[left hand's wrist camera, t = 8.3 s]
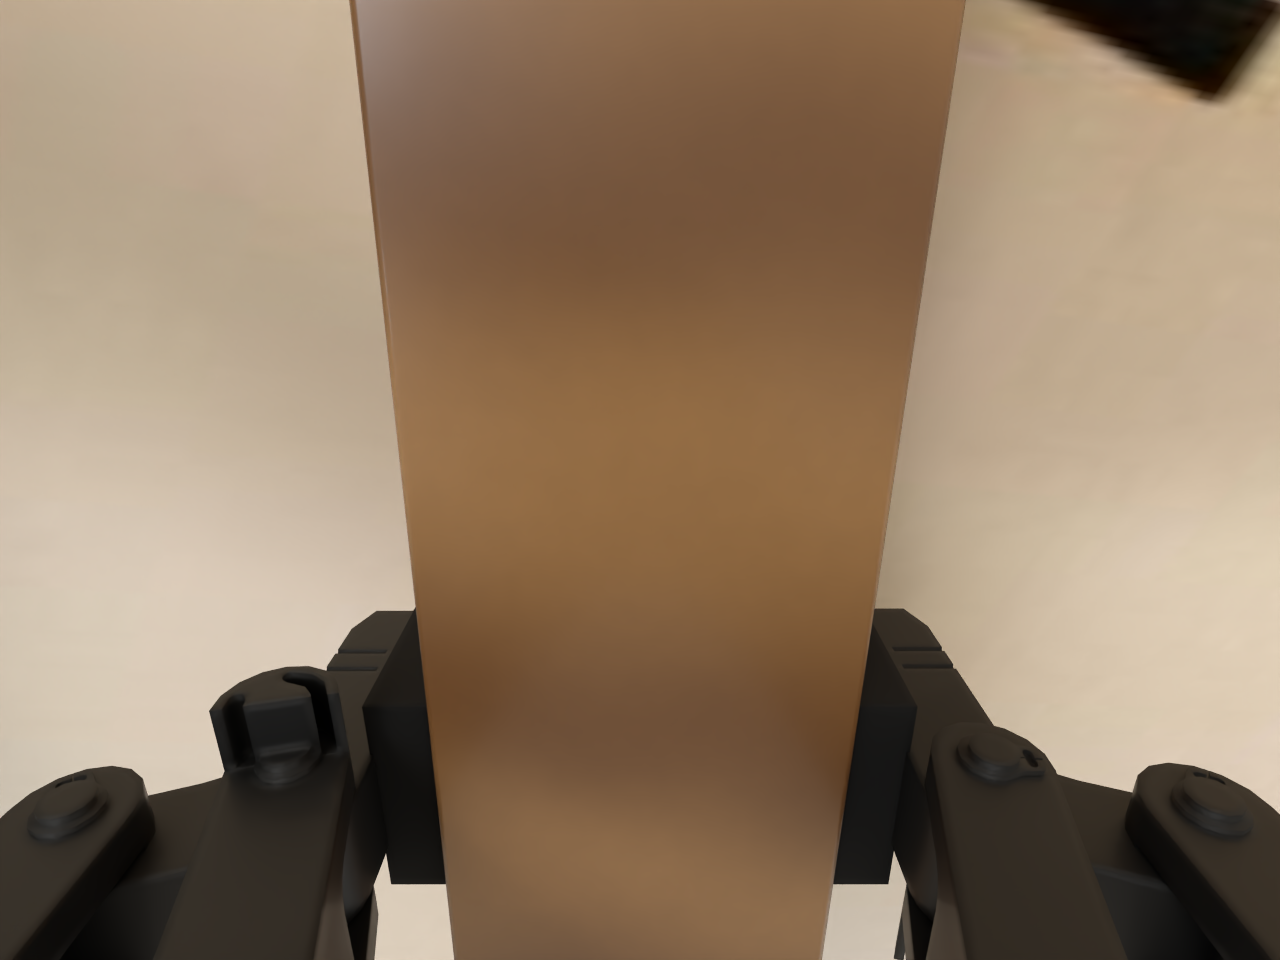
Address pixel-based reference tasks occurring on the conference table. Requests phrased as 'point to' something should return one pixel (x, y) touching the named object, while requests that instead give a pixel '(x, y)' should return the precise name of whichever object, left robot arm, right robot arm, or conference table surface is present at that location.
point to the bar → (648, 439)
